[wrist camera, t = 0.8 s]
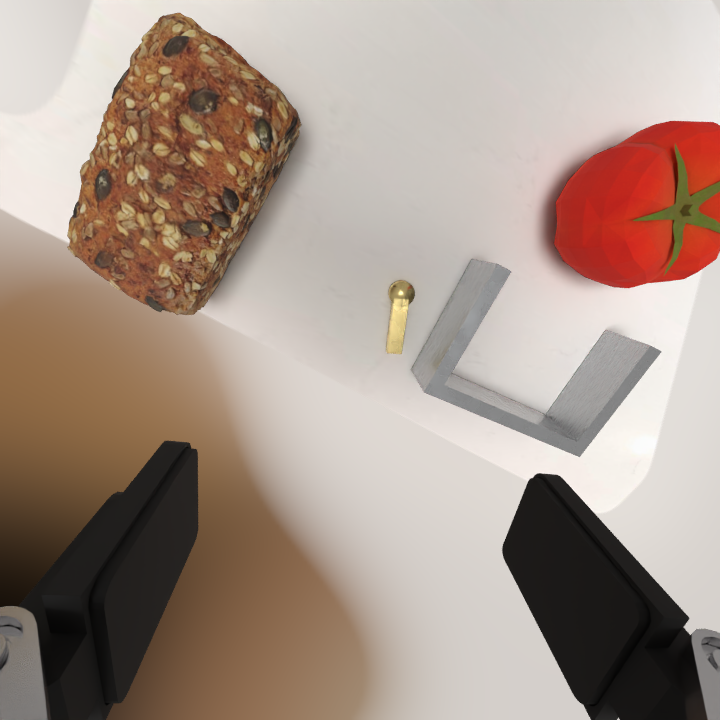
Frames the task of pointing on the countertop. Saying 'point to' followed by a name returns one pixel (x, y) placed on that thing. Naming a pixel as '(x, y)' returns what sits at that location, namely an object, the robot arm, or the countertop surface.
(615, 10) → the countertop surface
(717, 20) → the countertop surface
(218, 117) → the bread
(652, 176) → the tomato
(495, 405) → the grey u-shaped bracket
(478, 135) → the countertop surface
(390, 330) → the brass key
